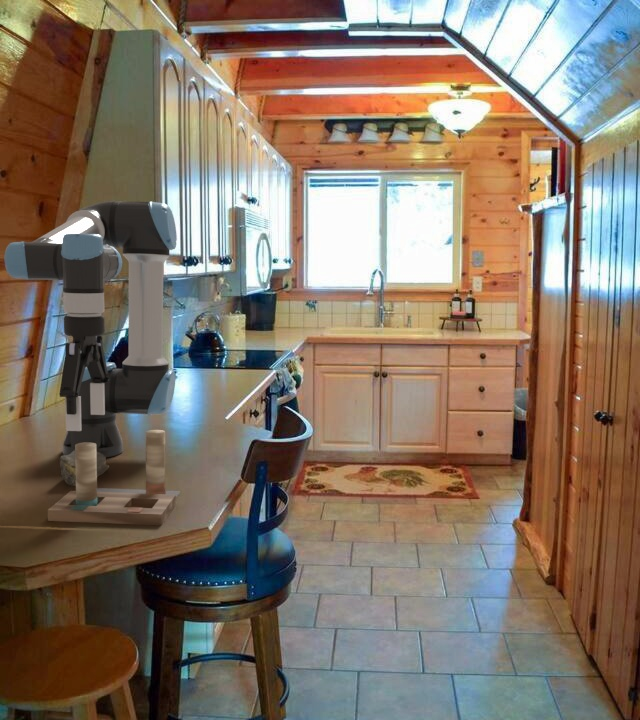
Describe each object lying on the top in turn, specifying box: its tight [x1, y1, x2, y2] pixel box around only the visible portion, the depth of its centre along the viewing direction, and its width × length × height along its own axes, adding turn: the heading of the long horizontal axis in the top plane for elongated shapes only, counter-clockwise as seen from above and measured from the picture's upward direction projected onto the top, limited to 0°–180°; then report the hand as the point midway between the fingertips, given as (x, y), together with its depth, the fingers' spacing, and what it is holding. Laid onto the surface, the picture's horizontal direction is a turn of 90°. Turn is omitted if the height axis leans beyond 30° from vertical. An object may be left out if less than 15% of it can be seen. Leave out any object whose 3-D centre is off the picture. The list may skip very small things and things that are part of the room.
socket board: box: [47, 490, 177, 526], centre depth 148 cm, size 12×22×3 cm, turn 88°
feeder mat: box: [97, 487, 182, 498], centre depth 159 cm, size 8×20×1 cm, turn 88°
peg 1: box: [75, 442, 98, 506], centre depth 147 cm, size 4×4×14 cm
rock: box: [59, 450, 110, 487], centre depth 171 cm, size 17×7×10 cm
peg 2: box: [145, 429, 166, 494], centre depth 158 cm, size 4×4×14 cm
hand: (86, 422), depth 146 cm, fingers open, 13 cm apart
